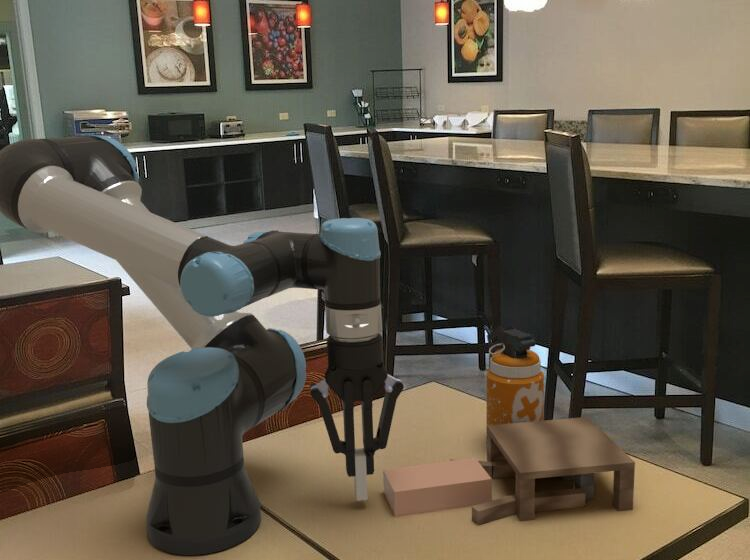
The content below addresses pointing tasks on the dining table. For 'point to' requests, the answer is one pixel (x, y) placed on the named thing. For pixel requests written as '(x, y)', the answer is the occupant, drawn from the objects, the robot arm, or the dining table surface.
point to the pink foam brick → (436, 486)
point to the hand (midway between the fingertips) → (361, 495)
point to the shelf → (552, 466)
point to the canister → (513, 379)
